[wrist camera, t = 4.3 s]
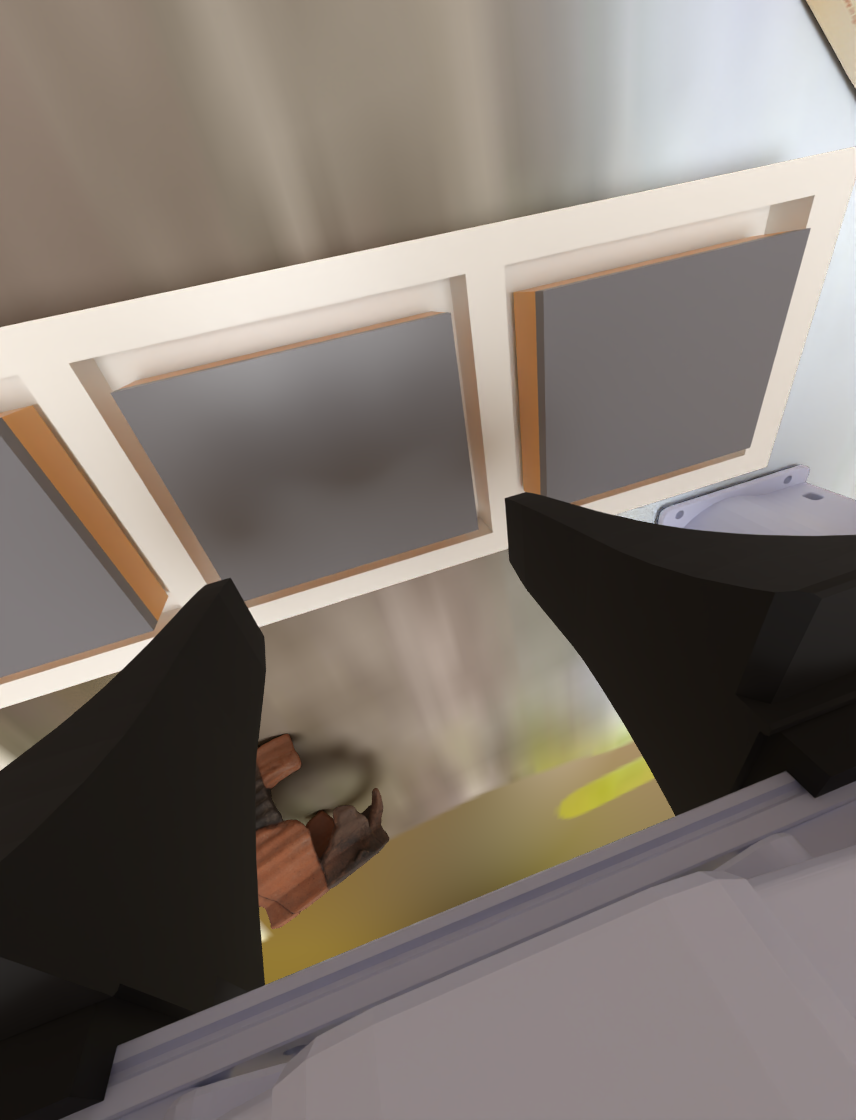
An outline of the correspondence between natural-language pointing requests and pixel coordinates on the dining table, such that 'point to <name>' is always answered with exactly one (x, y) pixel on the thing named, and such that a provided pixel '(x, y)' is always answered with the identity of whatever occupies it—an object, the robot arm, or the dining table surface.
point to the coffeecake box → (839, 30)
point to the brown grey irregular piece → (305, 840)
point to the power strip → (380, 296)
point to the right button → (649, 363)
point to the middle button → (314, 451)
